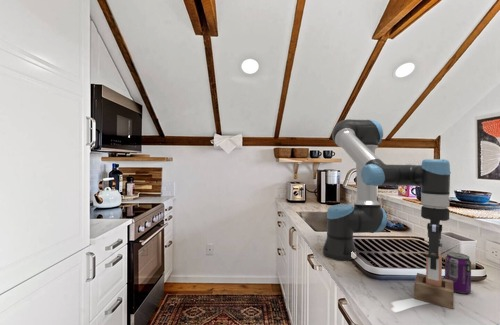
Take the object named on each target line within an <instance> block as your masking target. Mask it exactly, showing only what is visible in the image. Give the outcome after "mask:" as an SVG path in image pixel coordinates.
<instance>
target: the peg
mask: <svg viewBox="0 0 500 325" xmlns="http://www.w3.org/2000/svg"><path fill="white" fill-rule="evenodd" d="M426 254H427V255H428V250H427V252H426ZM431 254H435V253H431ZM438 256H439V281H437V280H433V279H428V257H426V256H425V258H426V261H425V262H426V263H425V266H426V267H425V269H426V270H425V272H426V273H425V275H426V284H430V285H434V286H439V287H441V284H442V278H443V276H442V274H443V271H442V270H443V266H442V265H443V261H442V260H443V254H442V253H440V254H439V253H438Z"/></svg>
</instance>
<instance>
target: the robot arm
mask: <svg viewBox="0 0 500 325" xmlns="http://www.w3.org/2000/svg"><path fill="white" fill-rule="evenodd" d="M331 136H332V137H331V138H332V140H333V143H335V145H336V146H337V147H340V148H342V149H343V151H344V152H346V154H347V155H348V156H349V157H350V158H351V159H352V160H353V162H354V163H355V173H356V201H355V202H354V203H353V205H354V206H353V205H352V204H348V203H347V204H346V203H345V204H343V203H340V204H334V205H331V206H328V208H327V212H326V213H327V214H326V240H325V242H324V245H323V247H322V255H323V256H324V257H326V258H328V259H332V260H336V261H342V262H344V261H345V262H348V261H350V262H351V261H352V260H351V252H352V251H353V252H356V251H357V249H356V245H355V242H354V234H360V233H365V234H366V233H368V234H374V233H380V232H382V231H383V230H385V228H386V226H387V222H388V216H387V212H386V209H384V208H383V207H381V203H380V202H379V201H378V198H377V197H378V196H377V193H378V192H377V187H378V186H397V187H399V186H400V187H401V186H403V187H405V186H407V187H408V186H409V187H410V186H411V187H413V186H414V187H421V190H420V191H421V192H420V194H421V195H420V197H421V198H420V204H421V205H422V206H421V207H420V208H421V209H420V215H421V218H422V219H425V220H429V222H427V225H426V230H427V238H428V250H427V251H428V255H427V253H426V254H425V258H426V257H428V279H433V280H437V281H439V256H438V253H439V254H441V248H442V247H443V243H441V241H440V240H441V239H442V232H443V224H441V223H440V222H445V221H446V222H447V221H449V220H450V209H449V207H450V201H452V200H453V198H452V197H450V193H451V192H450V191H451V190H450V189H451V165H450V161H449V160H448V159H445V158H444V159H443V158H441V159H440V158H439V159H437V158H436V159H435V158H433V159H431V158H430V159H429V158H428V159H423V160H422V161H421V164H420V165H419V164H386V163H384V161H382V160H381V159H380V158H379V157H378V156H377V155H376V150H377V148H379V144H381V143H382V141H383V137H384V129H383V126H382V125H381V124H380V123H379V121H377V120H371V119H350V118H349V119H344V120H340V121H339V122H337V123H336V124H335V125H334V127H333V129H332V132H331ZM431 253H435V254H431Z"/></svg>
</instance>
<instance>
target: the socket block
mask: <svg viewBox="0 0 500 325" xmlns="http://www.w3.org/2000/svg"><path fill="white" fill-rule="evenodd" d="M413 285H414V286H413V293H414V294H413V299H414V300H418V301H421V302H424V303H429V304H432V305H436V306H440V307H444V308H446V309H451V310H454V296H455V294H454V292H455V291H454V290H453V281H452V280H447V279H445V278H443V277H442V284H441V287H439V286H434V285H430V284H426V273H419V272H417V273H416V276H415V280H414V284H413Z"/></svg>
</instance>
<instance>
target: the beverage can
mask: <svg viewBox="0 0 500 325" xmlns="http://www.w3.org/2000/svg"><path fill="white" fill-rule="evenodd" d="M456 252H457V251H456ZM456 252H448V253H447V256H446V257H445V262H444V279H447V280H452V281H453V290H454V292H455V293H459V294H467V293H468V294H469V293H471V292H472V262H471V259H470V256H469V255H468V254H465V253H460V252H457V253H456Z"/></svg>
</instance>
